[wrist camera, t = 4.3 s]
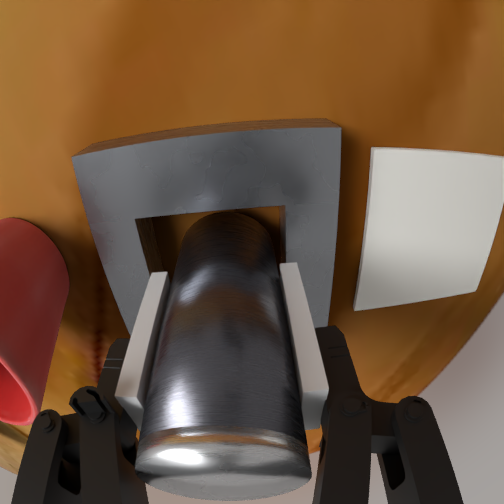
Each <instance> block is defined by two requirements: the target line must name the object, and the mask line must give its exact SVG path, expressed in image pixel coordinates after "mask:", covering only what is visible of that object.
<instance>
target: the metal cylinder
mask: <svg viewBox="0 0 504 504" xmlns="http://www.w3.org/2000/svg"><path fill="white" fill-rule="evenodd" d="M135 474H136V475H137V476H138V477H139V478H140V479H141V480H142V481H143V482H145V483H147V484H149V485H151V486H153V487H155V488H157V489H160V490H162V491H166V492H169V493H173V494H176V495H181V496H185V497H190V498H197V499H205V500H219V501H237V500H253V499H260V498H267V497H272V496H277V495H280V494H284V493H287V492H290V491H293V490H295V489H298V488H299V487H301V486H303V485H305V484H306V483H307V482H308V481H309V480H310V479H311V477H312V472H311V466H310V459H309V452H308V446H307V439H306V433H305V426H304V420H303V414H302V408H301V402H300V396H299V390H298V384H297V378H296V372H295V366H294V360H293V354H292V348H291V342H290V336H289V330H288V325H287V319H286V313H285V308H284V302H283V296H282V291H281V285H280V279H279V274H278V269H277V263H276V258H275V252H274V247H273V243H272V240H271V237H270V235H269V234H268V232H267V230H266V229H265V228H264V227H263V226H262V225H261V224H260V223H259V222H257V221H256V220H254V219H253V218H251V217H249V216H246V215H243V214H240V213H236V212H219V213H214V214H210V215H207V216H205V217H203V218H201V219H199V220H198V221H197V222H195V223H194V224H193V225H192V226H191V227H190V228H189V229H188V231H187V232H186V234H185V236H184V238H183V241H182V245H181V248H180V252H179V256H178V260H177V263H176V267H175V271H174V275H173V279H172V283H171V287H170V291H169V295H168V299H167V303H166V307H165V312H164V316H163V320H162V325H161V329H160V333H159V338H158V343H157V347H156V352H155V357H154V361H153V366H152V371H151V376H150V381H149V386H148V391H147V397H146V402H145V408H144V413H143V419H142V425H141V431H140V437H139V443H138V450H137V456H136V463H135Z"/></svg>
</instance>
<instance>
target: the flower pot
mask: <svg viewBox="0 0 504 504" xmlns="http://www.w3.org/2000/svg"><path fill="white" fill-rule="evenodd" d="M69 285H70V283H69V276H68V271H67V267H66V264H65V262H64V259H63V257H62V255H61V253H60V251H59V250H58V248H57V247H56V246H55V244H54V243H53V242H52V240H51V239H50V238H49V237H48V236H47V235H46V234H45V233H44V232H43V231H41V230H40V229H39V228H38V227H36V226H34V225H33V224H31V223H29V222H27V221H24V220H21V219H17V218H6V219H1V220H0V421H2V422H5V423H9V424H14V425H30V424H32V423H33V421H34V419H35V418H36V416H37V415H38V414H39V413H40V410H41V406H42V401H43V396H44V392H45V387H46V382H47V377H48V373H49V368H50V364H51V360H52V356H53V352H54V348H55V343H56V340H57V336H58V331H59V327H60V323H61V319H62V315H63V311H64V307H65V303H66V300H67V296H68V292H69Z"/></svg>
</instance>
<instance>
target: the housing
mask: <svg viewBox="0 0 504 504" xmlns="http://www.w3.org/2000/svg"><path fill="white" fill-rule="evenodd" d="M72 162H73V166H74V170H75V174H76V178H77V182H78V186H79V190H80V194H81V198H82V201H83V205H84V208H85V212H86V215H87V219H88V222H89V225H90V229H91V232H92V235H93V238H94V241H95V244H96V247H97V250H98V253H99V256H100V259H101V262H102V265H103V268H104V271H105V273H106V276H107V279H108V282H109V284H110V287H111V290H112V292H113V295H114V297H115V300H116V303H117V305H118V308H119V310H120V312H121V315H122V317H123V320H124V322H125V324H126V327H127V329H128V331H129V334H130V336H131V335H132V332H133V328H134V325H135V322H136V319H137V315H138V312H139V309H140V306H141V303H142V300H143V297H144V294H145V291H146V288H147V285H148V282H149V279H150V276H151V273H155V272H164V269H163V265H162V261H161V257H160V253H159V249H158V245H157V241H156V236H155V232H154V228H153V223H152V219H151V217H156V216H165V215H175V214H185V213H195V212H206V211H217V210H229V209H241V208H254V207H267V206H279V212H280V253H281V263H294V262H297V265H298V269H299V272H300V276H301V280H302V283H303V287H304V291H305V295H306V298H307V302H308V306H309V310H310V314H311V318H312V322H313V325H314V328H317V327H326V326H327V325H328V317H329V309H330V300H331V291H332V282H333V272H334V261H335V249H336V237H337V223H338V207H339V188H340V162H341V127H339V126H338V125H336V124H334V123H333V122H331V121H329V120H328V119H283V120H262V121H247V122H234V123H223V124H213V125H203V126H195V127H187V128H179V129H172V130H165V131H158V132H152V133H146V134H140V135H134V136H129V137H123V138H118V139H113V140H108V141H103V142H98V143H94V144H91V145H90V146H88V147H86V148H85V149H83V150H82V151H80V152H78V153H77V154H75V155H74V156H72Z"/></svg>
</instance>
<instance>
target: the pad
mask: <svg viewBox="0 0 504 504" xmlns="http://www.w3.org/2000/svg"><path fill="white" fill-rule="evenodd" d="M503 203H504V156H496V155H488V154H479V153H469V152H458V151H446V150H432V149H415V148H390V147H371V158H370V173H369V186H368V198H367V208H366V218H365V227H364V236H363V244H362V251H361V259H360V266H359V273H358V279H357V286H356V292H355V298H354V304H353V309H354V311H359V310H367V309H374V308H381V307H388V306H395V305H401V304H408V303H414V302H420V301H426V300H432V299H438V298H443V297H449V296H454V295H460V294H465V293H470V292H475V291H476V289H477V287H478V284H479V282H480V279H481V276H482V273H483V271H484V268H485V265H486V262H487V259H488V256H489V253H490V250H491V247H492V243H493V240H494V237H495V233H496V230H497V226H498V223H499V219H500V215H501V211H502V207H503Z"/></svg>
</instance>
